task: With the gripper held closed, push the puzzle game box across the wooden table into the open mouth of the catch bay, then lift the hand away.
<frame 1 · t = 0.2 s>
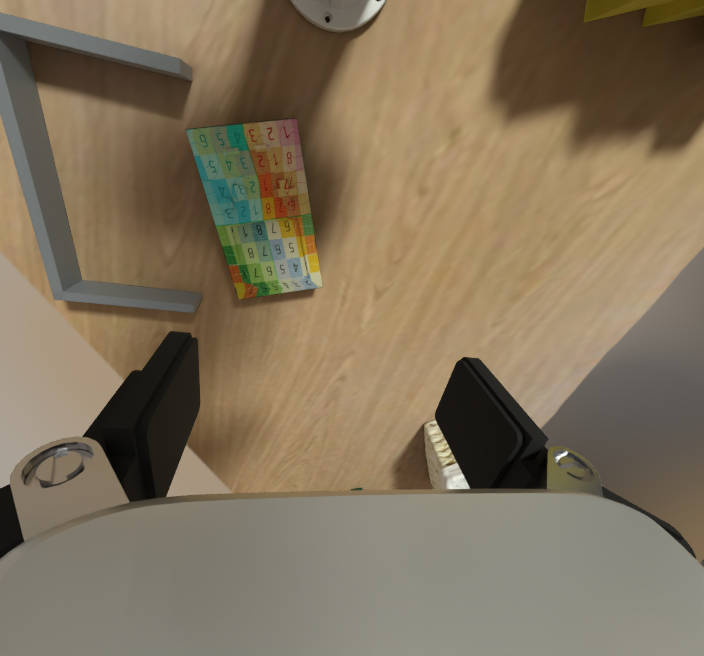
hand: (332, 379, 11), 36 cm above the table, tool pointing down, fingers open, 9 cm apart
storage basket: (455, 443, 72), on the table
catch bay: (131, 191, 38), on the table
toy blocks: (675, 7, 37), on the table
puzzle game: (266, 213, 42), on the table
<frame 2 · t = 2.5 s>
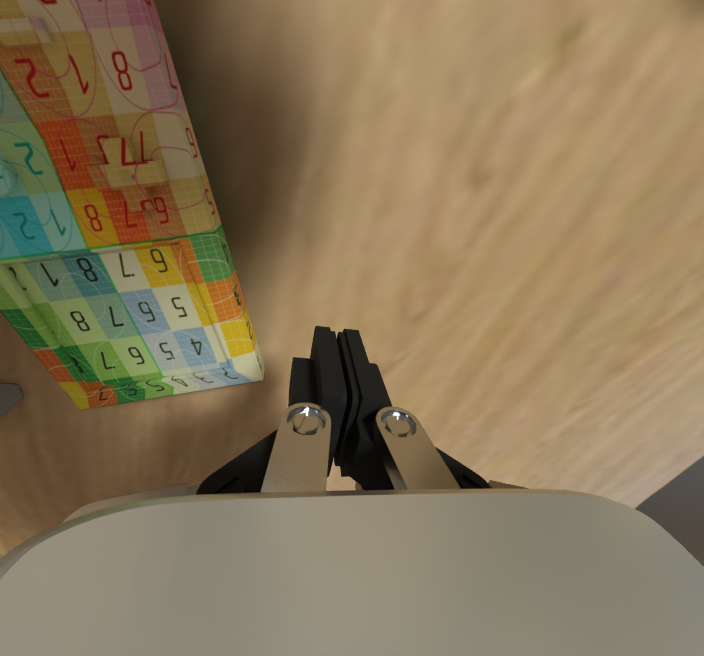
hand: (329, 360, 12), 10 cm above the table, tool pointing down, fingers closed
puzzle game: (130, 225, 19), on the table
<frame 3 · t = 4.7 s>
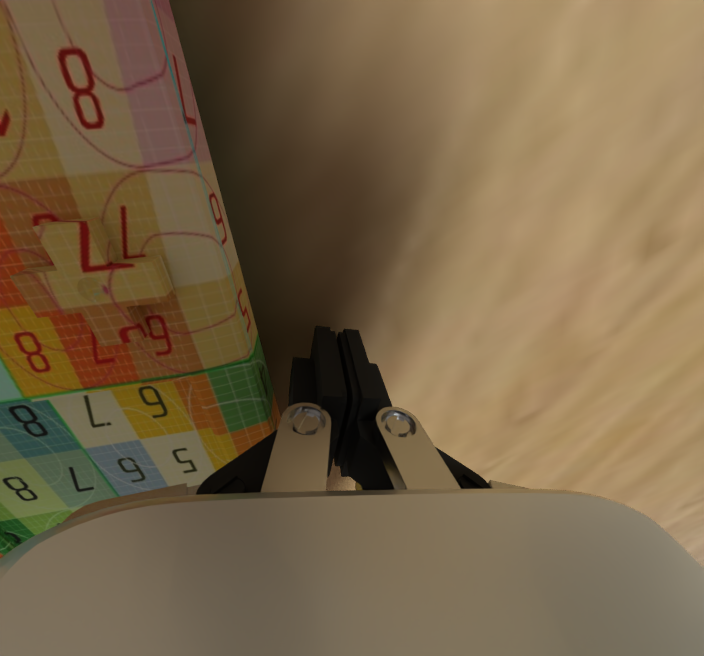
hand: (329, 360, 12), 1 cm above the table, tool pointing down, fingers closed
puzzle game: (112, 319, 12), on the table, touching gripper
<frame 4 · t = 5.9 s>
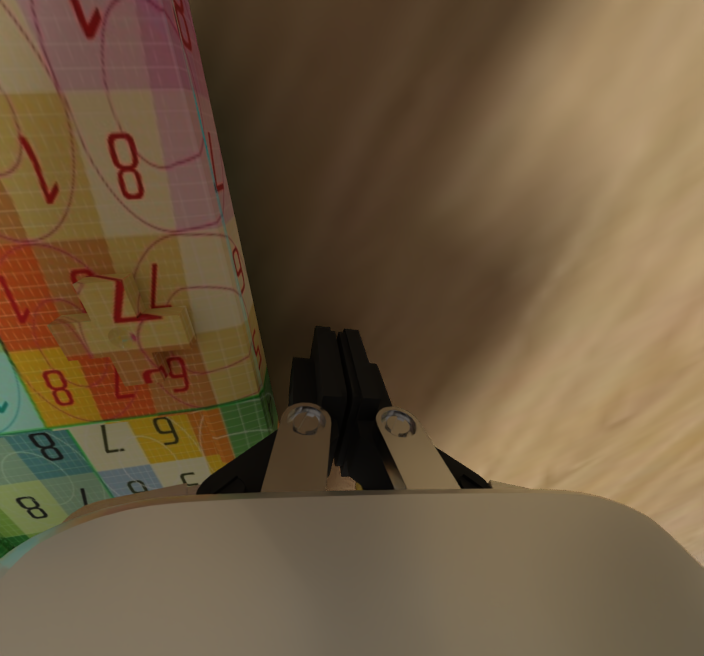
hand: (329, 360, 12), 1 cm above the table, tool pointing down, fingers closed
puzzle game: (124, 343, 13), on the table, touching gripper
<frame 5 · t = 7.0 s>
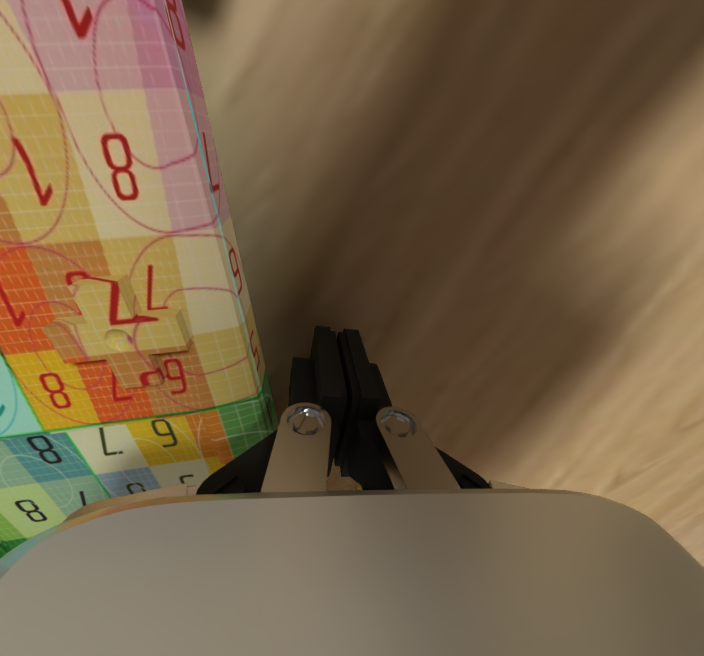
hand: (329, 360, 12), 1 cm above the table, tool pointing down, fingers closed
puzzle game: (123, 345, 13), on the table
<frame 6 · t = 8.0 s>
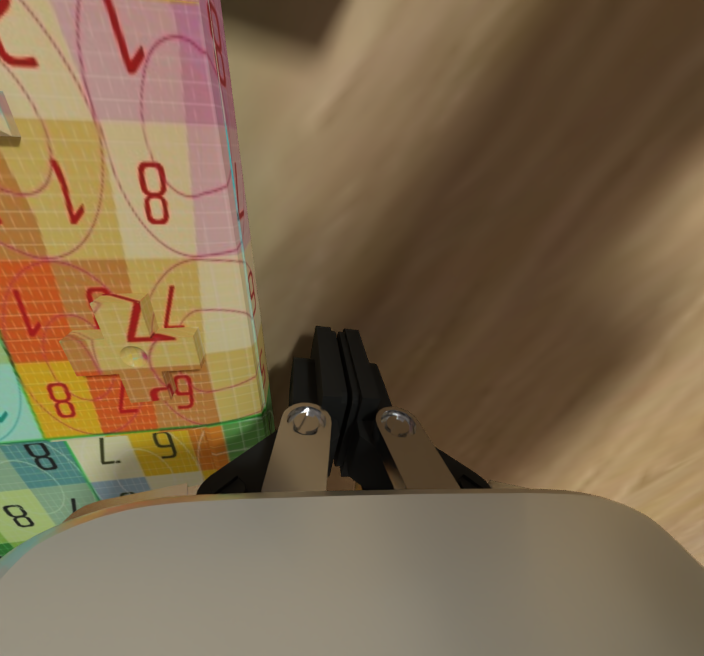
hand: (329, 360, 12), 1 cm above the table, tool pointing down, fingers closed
puzzle game: (123, 350, 12), on the table, touching catch bay, gripper
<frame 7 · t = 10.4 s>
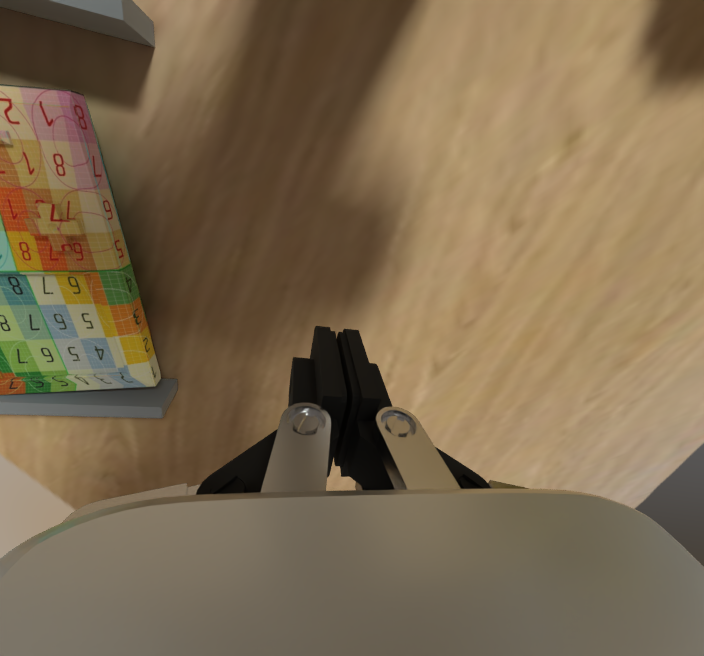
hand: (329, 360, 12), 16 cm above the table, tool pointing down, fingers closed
catch bay: (55, 233, 23), on the table
puzzle game: (62, 254, 24), on the table
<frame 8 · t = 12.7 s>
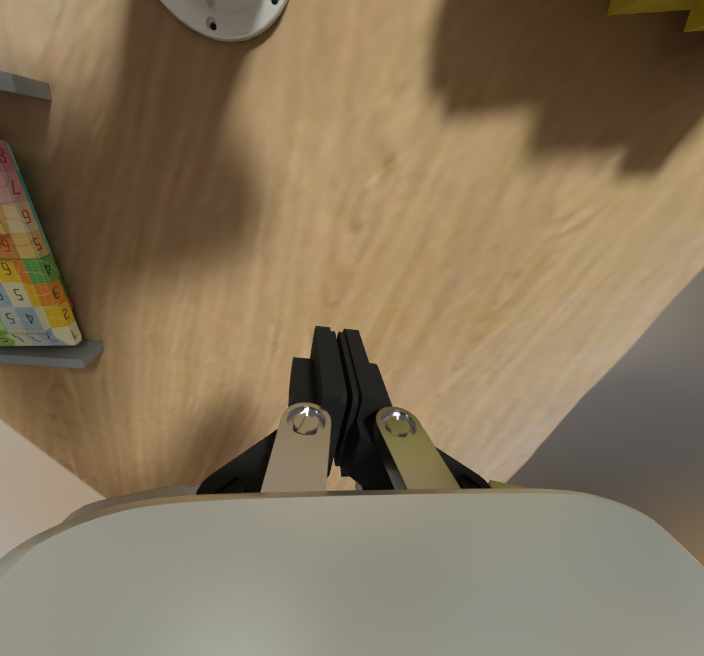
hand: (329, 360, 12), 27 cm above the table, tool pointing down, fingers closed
puzzle game: (2, 245, 33), on the table
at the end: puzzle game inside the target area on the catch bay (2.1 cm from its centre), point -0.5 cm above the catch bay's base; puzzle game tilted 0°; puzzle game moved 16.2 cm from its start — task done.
